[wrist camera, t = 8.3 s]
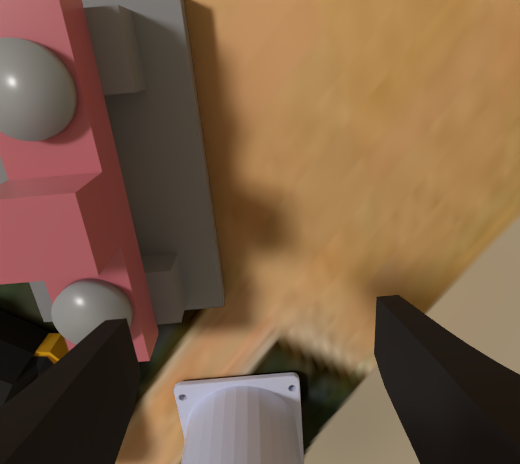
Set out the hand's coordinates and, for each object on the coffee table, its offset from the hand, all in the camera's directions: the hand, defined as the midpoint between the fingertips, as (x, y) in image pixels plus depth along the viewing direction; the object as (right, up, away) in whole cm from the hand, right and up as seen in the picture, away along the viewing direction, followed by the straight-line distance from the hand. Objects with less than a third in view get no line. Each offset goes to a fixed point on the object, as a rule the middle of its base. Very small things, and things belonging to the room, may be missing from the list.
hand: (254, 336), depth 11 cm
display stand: (-7, +6, +8) cm, 13 cm away
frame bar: (-7, +5, +6) cm, 10 cm away
